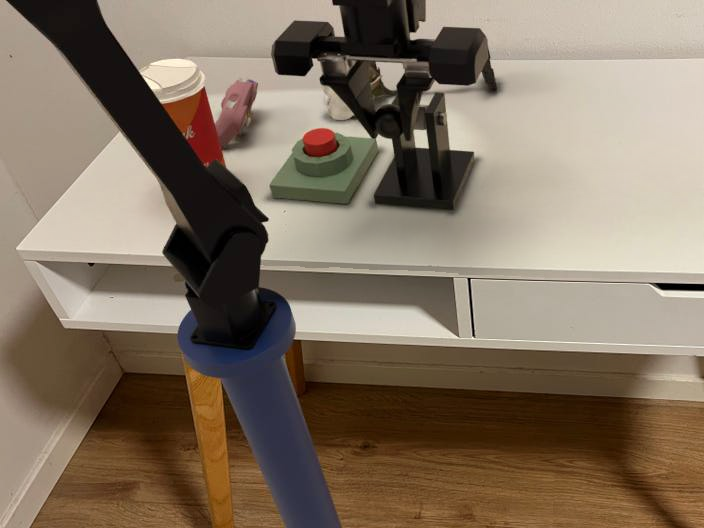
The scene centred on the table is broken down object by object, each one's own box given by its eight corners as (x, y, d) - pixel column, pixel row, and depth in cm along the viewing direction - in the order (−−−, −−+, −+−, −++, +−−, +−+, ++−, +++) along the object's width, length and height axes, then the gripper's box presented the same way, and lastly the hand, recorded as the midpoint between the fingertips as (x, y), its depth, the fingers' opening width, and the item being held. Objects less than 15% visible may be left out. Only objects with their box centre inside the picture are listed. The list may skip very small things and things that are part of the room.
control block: (347, 204, 87) (341, 177, 84) (272, 197, 89) (264, 170, 86) (378, 151, 94) (373, 124, 92) (308, 145, 96) (302, 119, 93)
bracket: (453, 210, 85) (445, 128, 78) (374, 203, 87) (359, 123, 80) (474, 160, 92) (469, 80, 84) (401, 155, 93) (389, 76, 86)
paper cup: (158, 199, 90) (109, 83, 80) (203, 165, 94) (162, 51, 84) (210, 215, 87) (166, 97, 77) (254, 179, 91) (218, 63, 81)
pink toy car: (238, 161, 97) (250, 113, 93) (201, 147, 96) (211, 99, 91) (256, 120, 104) (267, 74, 99) (221, 107, 103) (231, 60, 98)
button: (331, 159, 88) (328, 145, 86) (301, 157, 88) (297, 143, 87) (342, 142, 90) (339, 128, 89) (312, 140, 91) (309, 126, 89)
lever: (400, 141, 74) (400, 105, 73) (368, 139, 74) (368, 103, 73) (435, 132, 85) (436, 101, 84) (407, 130, 85) (407, 99, 84)
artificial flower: (503, 111, 101) (493, 49, 93) (335, 145, 103) (308, 87, 94) (495, 63, 106) (484, -1, 97) (333, 96, 107) (308, 36, 99)
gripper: (497, -63, 69) (503, 103, 80) (299, -67, 72) (331, 93, 84) (467, -15, 61) (478, 161, 72) (248, -22, 65) (291, 147, 76)
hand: (392, 137), depth 76 cm, fingers closed on lever, 3 cm apart
